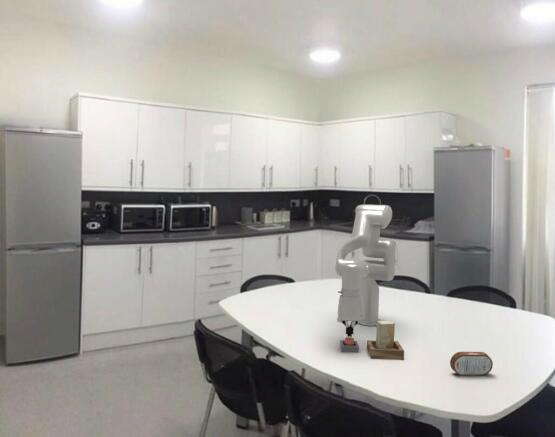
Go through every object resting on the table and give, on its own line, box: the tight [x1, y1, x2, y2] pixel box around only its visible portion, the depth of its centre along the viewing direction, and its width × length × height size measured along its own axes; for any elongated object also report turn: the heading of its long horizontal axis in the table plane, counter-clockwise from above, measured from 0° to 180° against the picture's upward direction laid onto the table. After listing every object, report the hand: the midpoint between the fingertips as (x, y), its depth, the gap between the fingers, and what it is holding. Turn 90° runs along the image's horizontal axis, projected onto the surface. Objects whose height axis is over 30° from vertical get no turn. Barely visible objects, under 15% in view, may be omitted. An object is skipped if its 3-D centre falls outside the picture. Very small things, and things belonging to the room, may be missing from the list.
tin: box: [449, 351, 494, 377], centre depth 164 cm, size 15×3×8 cm, turn 92°
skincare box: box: [375, 320, 396, 349], centre depth 183 cm, size 6×4×12 cm
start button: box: [344, 336, 355, 346], centre depth 188 cm, size 4×4×3 cm
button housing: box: [339, 339, 360, 354], centre depth 188 cm, size 7×7×2 cm
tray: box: [366, 339, 405, 360], centre depth 184 cm, size 11×13×4 cm
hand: (349, 335), depth 188 cm, fingers closed
